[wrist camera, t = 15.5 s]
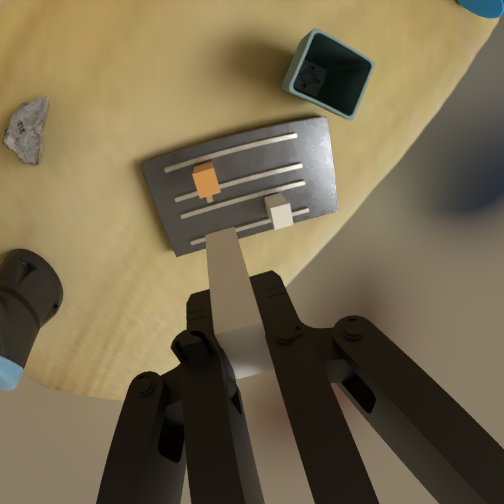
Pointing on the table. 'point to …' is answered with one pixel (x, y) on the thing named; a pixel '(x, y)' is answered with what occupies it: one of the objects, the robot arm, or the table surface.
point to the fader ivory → (278, 211)
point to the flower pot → (328, 74)
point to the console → (244, 181)
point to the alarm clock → (484, 7)
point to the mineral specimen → (27, 130)
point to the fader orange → (205, 180)
